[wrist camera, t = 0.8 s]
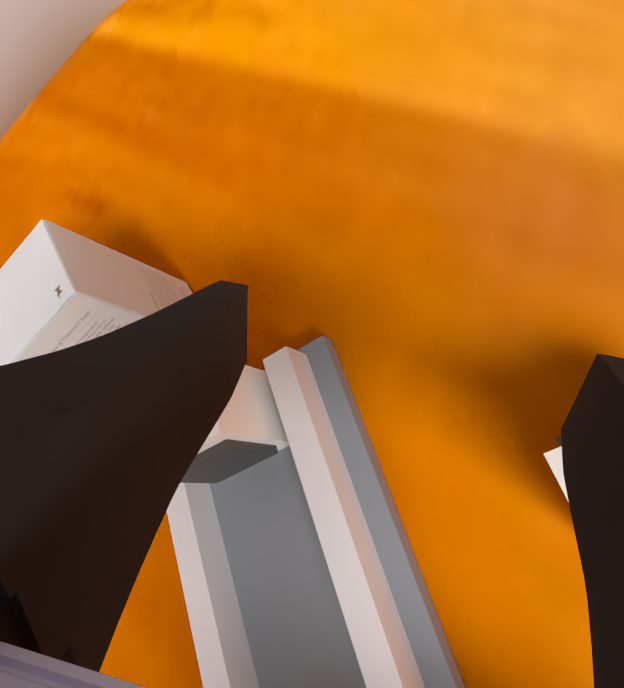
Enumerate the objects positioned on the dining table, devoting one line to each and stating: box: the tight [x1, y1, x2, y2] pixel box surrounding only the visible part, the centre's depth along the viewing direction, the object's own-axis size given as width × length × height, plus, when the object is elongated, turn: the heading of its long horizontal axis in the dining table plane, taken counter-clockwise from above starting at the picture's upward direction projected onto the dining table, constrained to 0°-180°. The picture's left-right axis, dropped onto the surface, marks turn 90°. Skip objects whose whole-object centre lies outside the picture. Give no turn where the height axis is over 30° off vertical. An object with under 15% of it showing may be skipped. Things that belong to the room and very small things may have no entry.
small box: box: [0, 219, 193, 366], centre depth 31 cm, size 8×6×10 cm
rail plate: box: [167, 335, 465, 688], centre depth 25 cm, size 18×12×7 cm, turn 22°
